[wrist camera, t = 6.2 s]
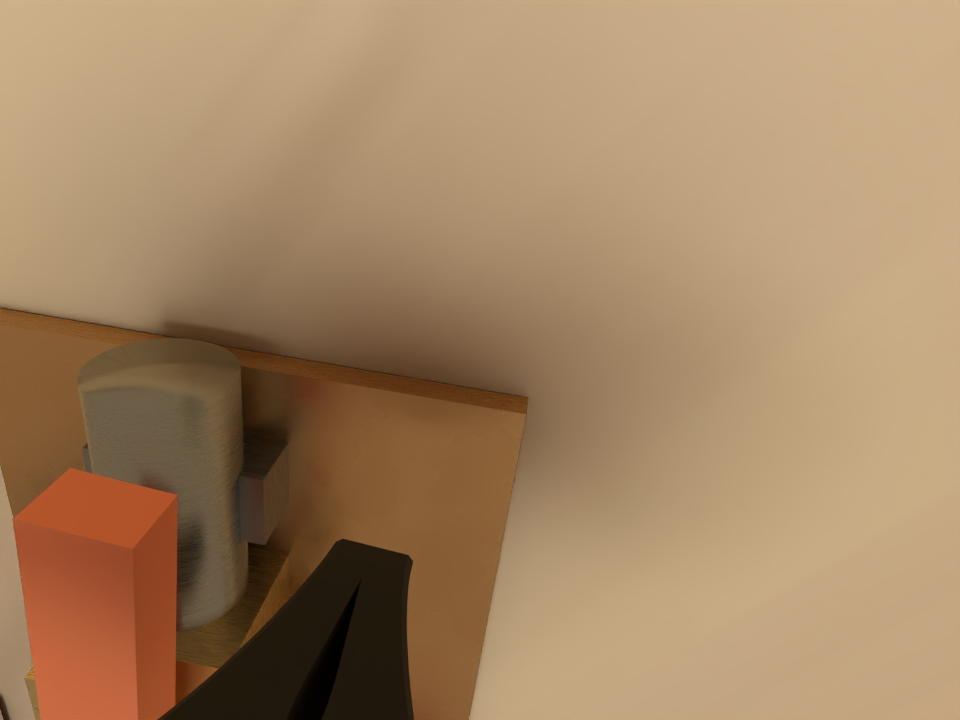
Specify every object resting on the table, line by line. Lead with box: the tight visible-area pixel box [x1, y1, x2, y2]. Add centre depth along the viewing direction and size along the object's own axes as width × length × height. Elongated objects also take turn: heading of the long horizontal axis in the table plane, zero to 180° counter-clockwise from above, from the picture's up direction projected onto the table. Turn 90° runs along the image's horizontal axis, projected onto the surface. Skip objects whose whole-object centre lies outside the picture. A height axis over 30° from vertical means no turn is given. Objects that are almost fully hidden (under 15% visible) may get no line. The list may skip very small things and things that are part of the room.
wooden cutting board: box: [0, 308, 528, 720], centre depth 19 cm, size 21×14×5 cm, turn 173°
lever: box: [13, 468, 178, 720], centre depth 14 cm, size 12×3×2 cm, turn 167°
